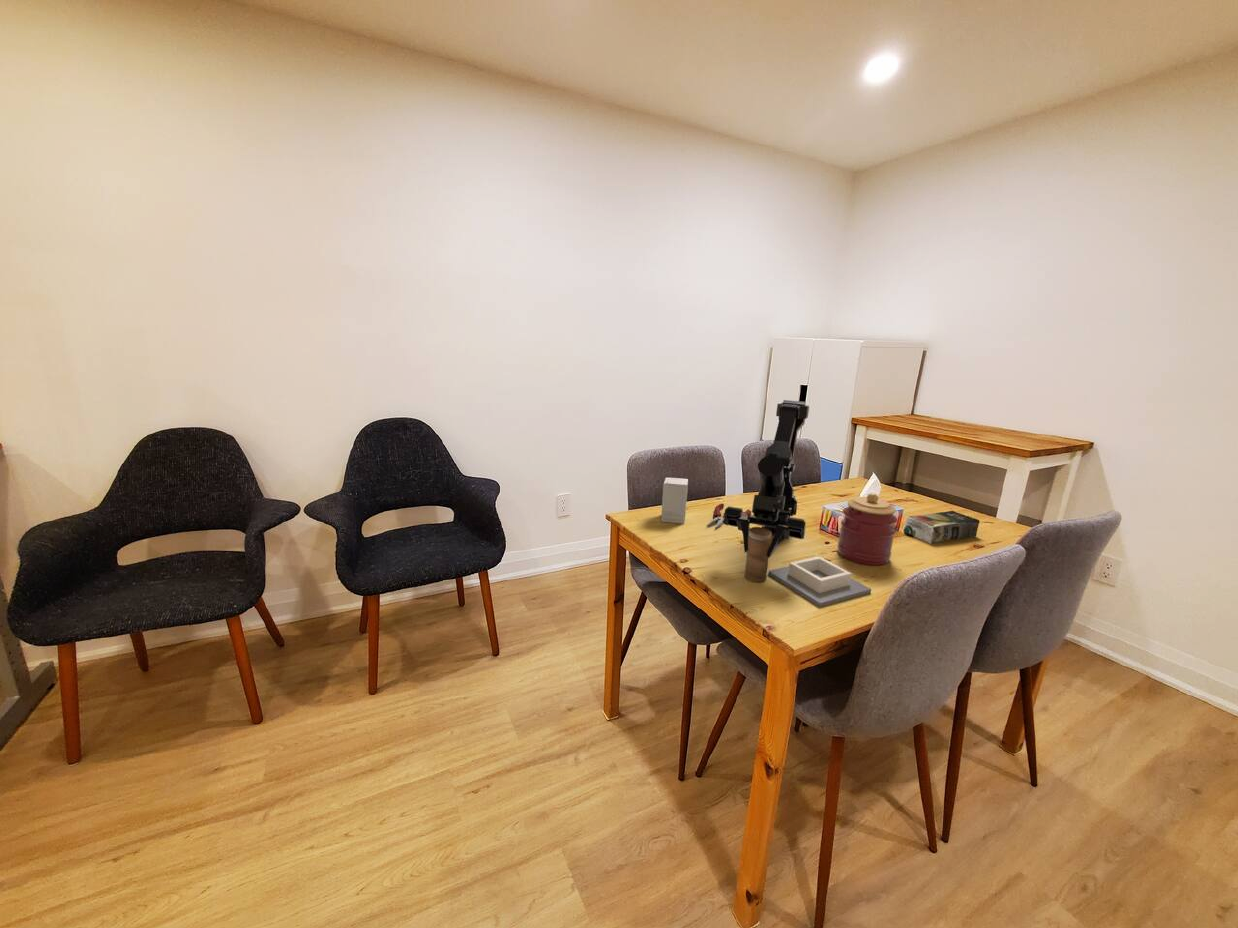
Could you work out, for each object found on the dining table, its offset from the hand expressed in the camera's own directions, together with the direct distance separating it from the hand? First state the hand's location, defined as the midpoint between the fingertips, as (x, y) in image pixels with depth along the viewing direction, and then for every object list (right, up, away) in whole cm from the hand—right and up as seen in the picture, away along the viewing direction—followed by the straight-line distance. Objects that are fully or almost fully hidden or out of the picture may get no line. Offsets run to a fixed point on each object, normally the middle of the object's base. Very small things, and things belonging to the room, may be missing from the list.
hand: (756, 554), depth 114 cm
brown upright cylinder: (0, -6, +3) cm, 7 cm away
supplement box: (-15, +4, +40) cm, 43 cm away
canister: (+33, -4, +17) cm, 38 cm away
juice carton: (+65, -1, +33) cm, 73 cm away
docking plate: (+15, -7, +1) cm, 16 cm away
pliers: (0, +3, +42) cm, 42 cm away
